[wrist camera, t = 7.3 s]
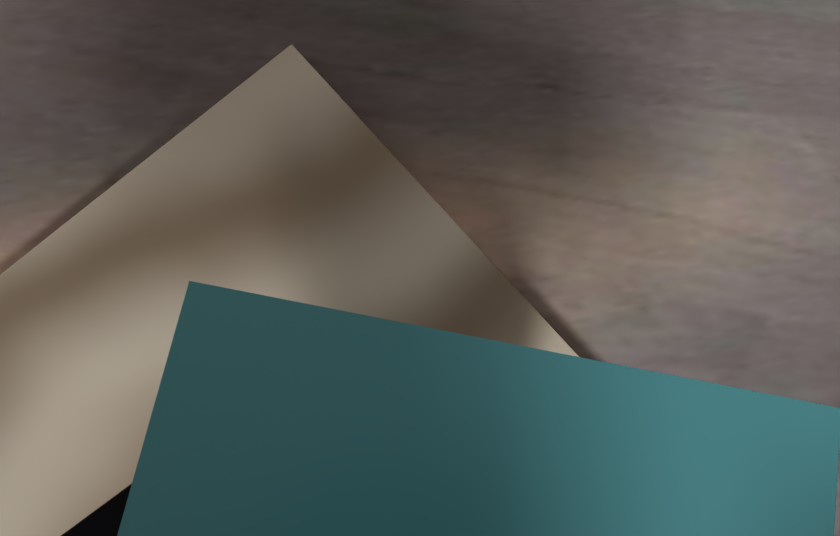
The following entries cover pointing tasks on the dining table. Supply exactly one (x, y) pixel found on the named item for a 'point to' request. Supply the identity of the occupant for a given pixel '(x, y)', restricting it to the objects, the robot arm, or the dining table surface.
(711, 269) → the dining table surface
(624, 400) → the upright teal box
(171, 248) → the thin wavy beige sheet
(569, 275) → the dining table surface
